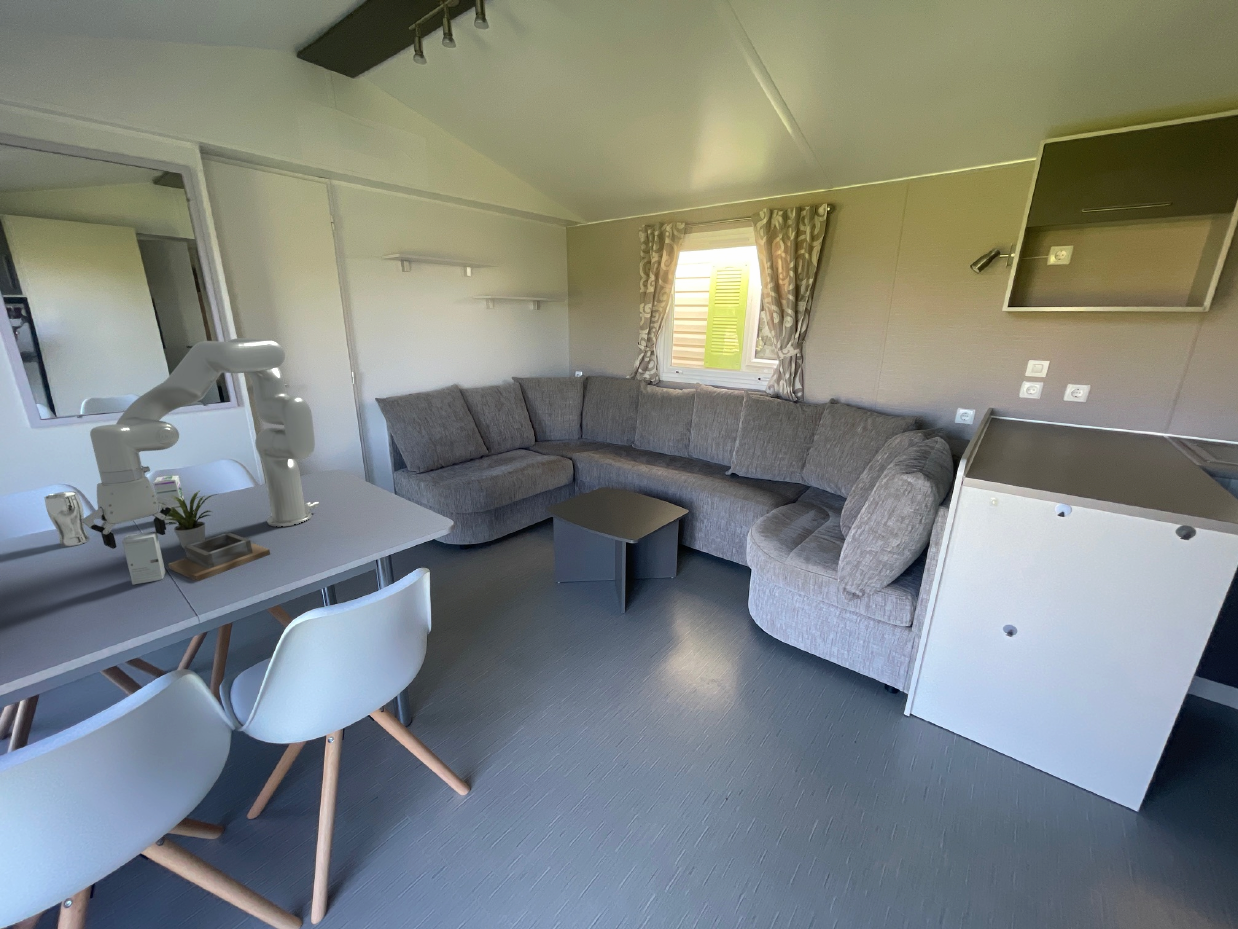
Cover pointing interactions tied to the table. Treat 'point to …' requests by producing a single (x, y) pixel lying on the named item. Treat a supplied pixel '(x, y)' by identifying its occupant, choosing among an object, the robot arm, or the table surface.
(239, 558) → the socket
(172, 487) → the syrup box
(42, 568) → the table surface
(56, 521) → the beer glass
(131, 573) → the skincare box
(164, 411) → the robot arm
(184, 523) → the house plant
